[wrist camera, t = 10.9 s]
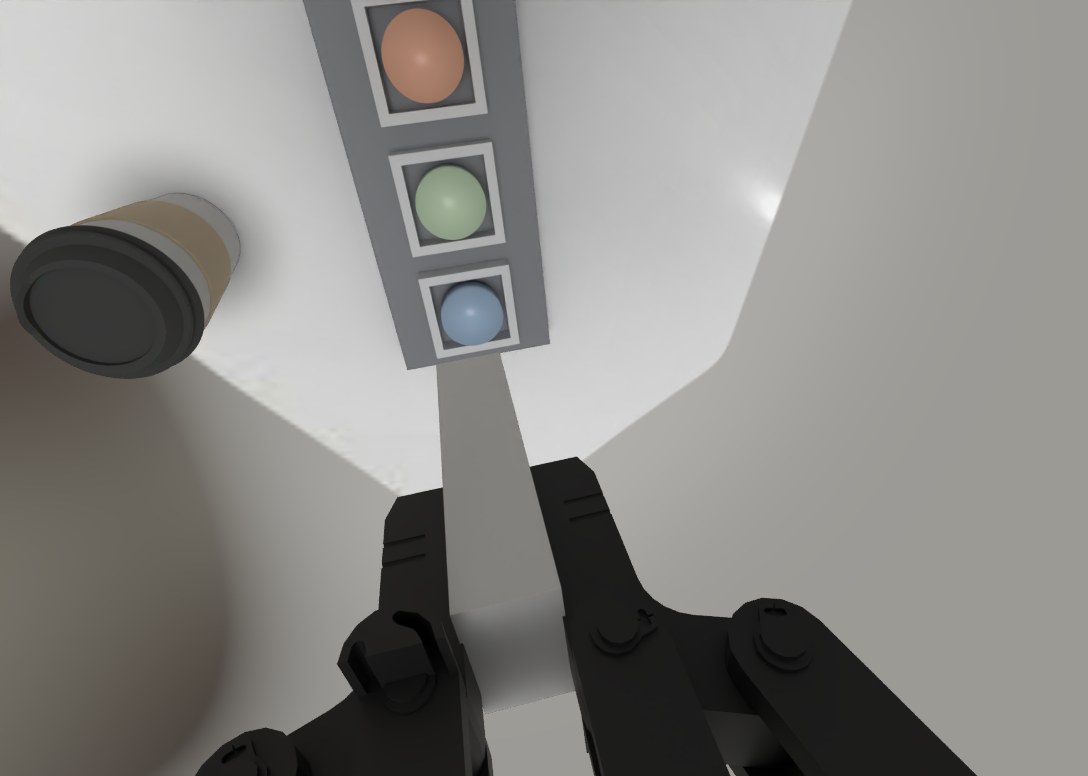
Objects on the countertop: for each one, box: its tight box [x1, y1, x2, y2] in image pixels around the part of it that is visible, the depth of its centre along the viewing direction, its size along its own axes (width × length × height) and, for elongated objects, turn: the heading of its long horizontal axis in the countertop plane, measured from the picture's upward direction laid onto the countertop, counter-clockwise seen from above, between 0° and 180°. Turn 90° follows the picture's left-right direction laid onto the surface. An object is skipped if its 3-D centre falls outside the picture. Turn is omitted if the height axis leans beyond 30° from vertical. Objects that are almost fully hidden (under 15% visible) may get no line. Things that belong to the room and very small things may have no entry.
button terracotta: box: [381, 8, 464, 103], centre depth 33 cm, size 5×5×2 cm
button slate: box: [441, 282, 503, 346], centre depth 43 cm, size 5×5×2 cm
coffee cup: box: [10, 193, 240, 379], centre depth 34 cm, size 9×9×15 cm
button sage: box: [415, 164, 486, 240], centre depth 38 cm, size 5×5×2 cm
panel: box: [303, 0, 550, 370], centre depth 40 cm, size 13×28×4 cm, turn 6°
